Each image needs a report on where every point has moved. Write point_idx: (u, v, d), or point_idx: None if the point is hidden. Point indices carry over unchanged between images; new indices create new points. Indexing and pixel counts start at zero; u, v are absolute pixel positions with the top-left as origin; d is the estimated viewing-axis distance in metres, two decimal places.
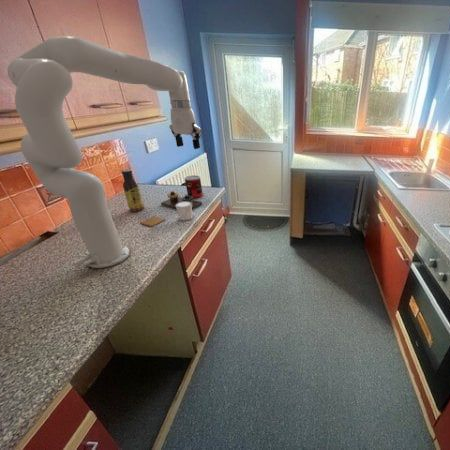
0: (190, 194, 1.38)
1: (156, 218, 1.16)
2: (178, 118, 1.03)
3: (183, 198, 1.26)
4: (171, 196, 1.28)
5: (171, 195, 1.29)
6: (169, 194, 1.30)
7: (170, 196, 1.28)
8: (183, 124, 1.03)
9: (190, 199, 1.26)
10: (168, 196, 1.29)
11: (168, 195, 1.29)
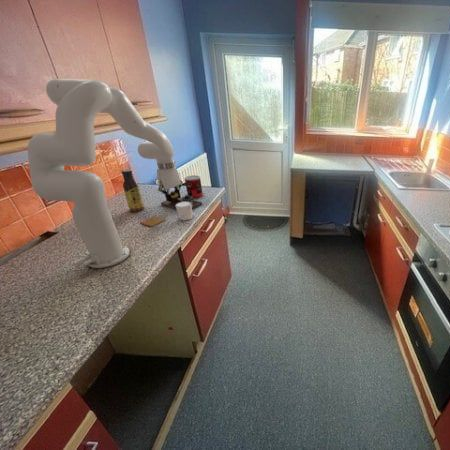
0: (190, 194, 1.38)
1: (156, 218, 1.16)
2: None
3: (183, 198, 1.26)
4: (171, 196, 1.28)
5: (171, 195, 1.29)
6: None
7: None
8: None
9: (190, 199, 1.26)
10: None
11: None
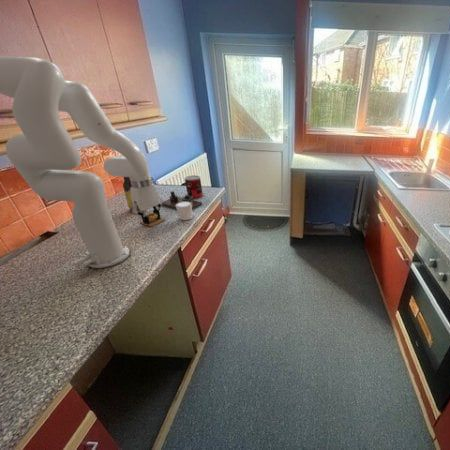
0: (190, 194, 1.38)
1: (156, 218, 1.16)
2: None
3: (183, 198, 1.26)
4: None
5: (149, 216, 1.11)
6: (146, 215, 1.12)
7: None
8: None
9: (190, 199, 1.26)
10: None
11: None
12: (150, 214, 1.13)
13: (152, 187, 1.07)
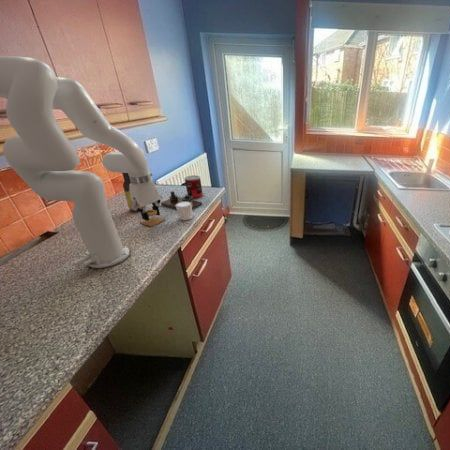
0: (190, 194, 1.38)
1: (156, 218, 1.16)
2: None
3: (183, 198, 1.26)
4: (148, 214, 1.09)
5: (148, 213, 1.10)
6: (146, 211, 1.11)
7: None
8: None
9: (190, 199, 1.26)
10: None
11: None
12: (149, 210, 1.13)
13: (151, 183, 1.07)
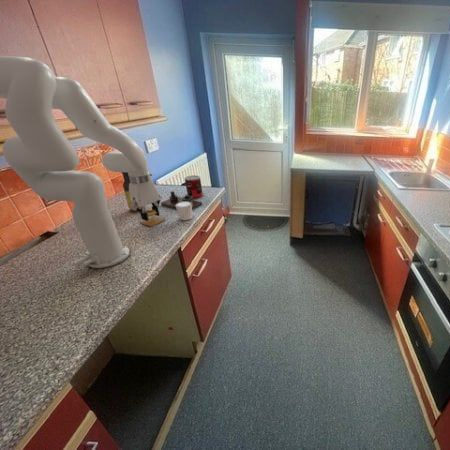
0: (190, 194, 1.38)
1: (156, 218, 1.16)
2: None
3: (183, 198, 1.26)
4: (147, 214, 1.09)
5: (147, 213, 1.10)
6: None
7: None
8: None
9: (190, 199, 1.26)
10: None
11: None
12: (149, 211, 1.12)
13: (151, 183, 1.06)
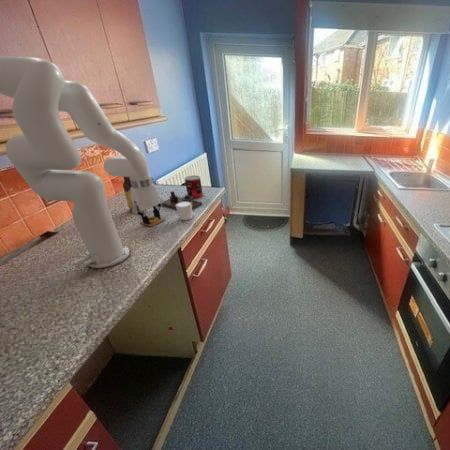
0: (190, 194, 1.38)
1: None
2: None
3: (183, 198, 1.26)
4: (149, 221, 1.11)
5: (150, 220, 1.12)
6: None
7: None
8: None
9: (190, 199, 1.26)
10: None
11: None
12: (151, 218, 1.14)
13: (152, 187, 1.07)
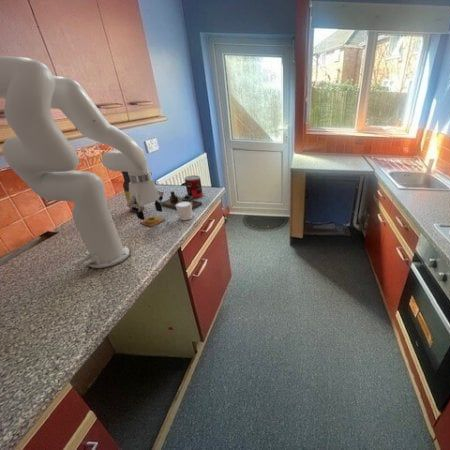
0: (190, 194, 1.38)
1: None
2: None
3: (183, 198, 1.26)
4: (149, 221, 1.11)
5: (149, 220, 1.11)
6: (147, 219, 1.13)
7: (148, 221, 1.11)
8: None
9: (190, 199, 1.26)
10: (146, 221, 1.11)
11: (146, 220, 1.11)
12: (151, 218, 1.14)
13: (151, 182, 1.06)
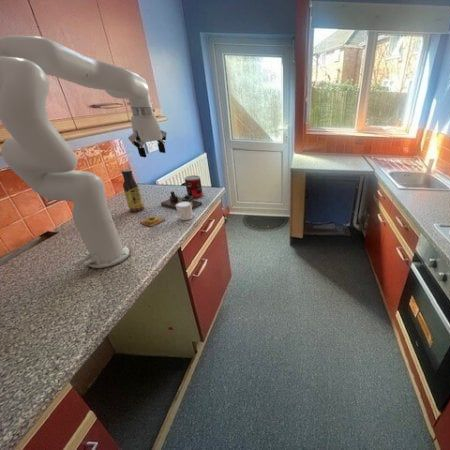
0: (190, 194, 1.38)
1: None
2: None
3: (183, 198, 1.26)
4: (149, 221, 1.11)
5: (149, 220, 1.11)
6: (147, 219, 1.13)
7: (148, 221, 1.11)
8: None
9: (190, 199, 1.26)
10: (146, 221, 1.11)
11: (146, 220, 1.11)
12: (151, 218, 1.14)
13: (154, 118, 1.04)
